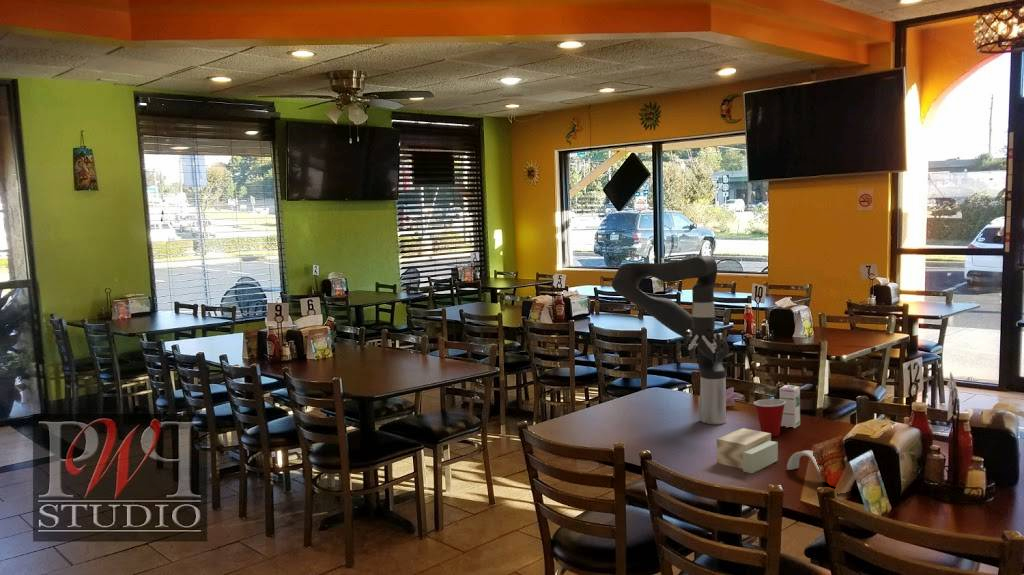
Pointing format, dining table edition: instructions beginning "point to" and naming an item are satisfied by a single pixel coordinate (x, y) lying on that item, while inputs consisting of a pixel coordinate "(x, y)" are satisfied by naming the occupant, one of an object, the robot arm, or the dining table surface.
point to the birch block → (738, 445)
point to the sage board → (760, 456)
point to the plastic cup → (770, 415)
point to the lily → (732, 395)
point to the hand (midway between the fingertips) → (703, 362)
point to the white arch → (795, 458)
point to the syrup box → (790, 405)
